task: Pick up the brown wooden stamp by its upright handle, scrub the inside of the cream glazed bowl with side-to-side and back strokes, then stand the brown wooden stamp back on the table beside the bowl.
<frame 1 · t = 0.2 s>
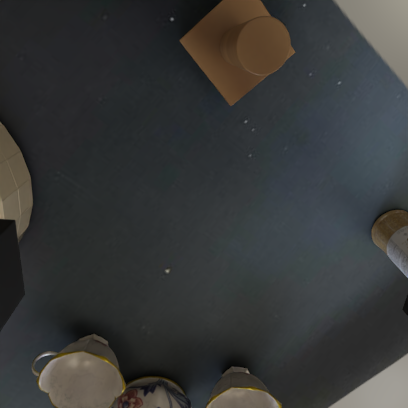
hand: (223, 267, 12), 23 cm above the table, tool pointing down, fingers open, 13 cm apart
sprinkles bottle: (390, 227, 38), on the table
brown wooden stamp: (231, 46, 31), on the table
chinaware: (159, 381, 46), on the table
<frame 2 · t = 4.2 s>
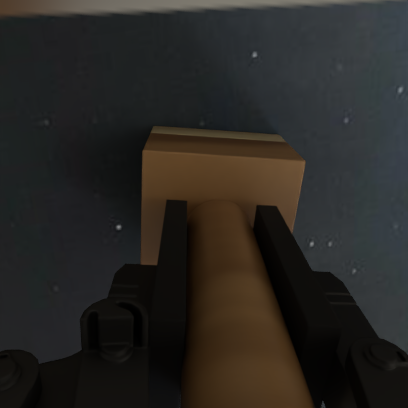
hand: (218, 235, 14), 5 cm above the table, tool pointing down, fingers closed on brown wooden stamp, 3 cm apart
brown wooden stamp: (211, 189, 19), on the table, touching gripper
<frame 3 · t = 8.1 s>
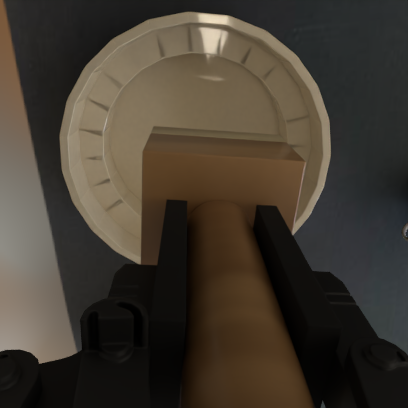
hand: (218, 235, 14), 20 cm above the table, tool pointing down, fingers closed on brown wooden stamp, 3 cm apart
brown wooden stamp: (211, 189, 19), point 15 cm above the table, touching gripper
bowl: (195, 141, 33), on the table
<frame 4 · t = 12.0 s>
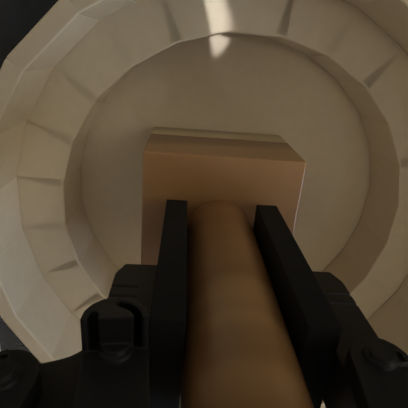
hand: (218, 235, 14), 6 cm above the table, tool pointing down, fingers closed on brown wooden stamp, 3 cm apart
brown wooden stamp: (212, 190, 19), point 1 cm above the table, touching gripper
bowl: (225, 186, 20), on the table
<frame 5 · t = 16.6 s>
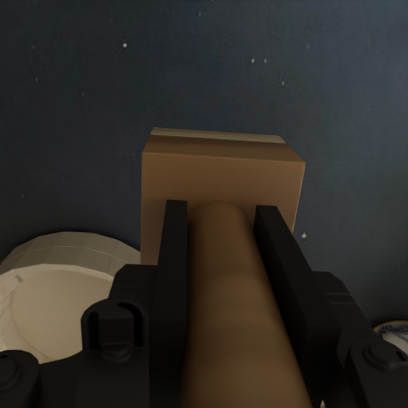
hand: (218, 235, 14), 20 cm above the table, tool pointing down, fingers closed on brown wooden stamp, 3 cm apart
brown wooden stamp: (211, 190, 19), point 15 cm above the table, touching gripper
bowl: (85, 309, 40), on the table
chinaware: (383, 329, 42), on the table
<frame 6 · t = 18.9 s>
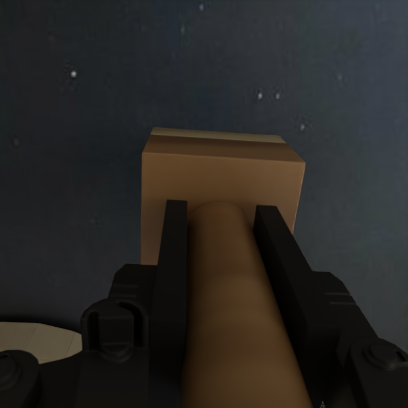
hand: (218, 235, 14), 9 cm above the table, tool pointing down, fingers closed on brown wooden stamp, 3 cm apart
brown wooden stamp: (211, 190, 19), point 4 cm above the table, touching gripper
when the fingers open (5 cm above the table, at t = 20.1 s): brown wooden stamp stays where it is, on the table.
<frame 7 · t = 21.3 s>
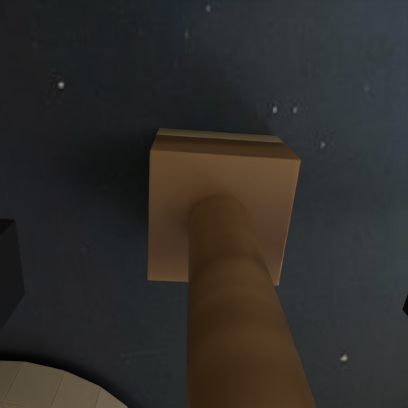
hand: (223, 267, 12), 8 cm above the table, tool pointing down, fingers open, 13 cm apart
brown wooden stamp: (213, 187, 20), on the table
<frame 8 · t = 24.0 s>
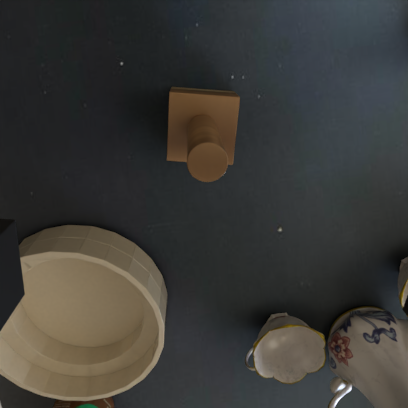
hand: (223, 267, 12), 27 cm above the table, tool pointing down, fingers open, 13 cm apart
food container: (99, 399, 51), on the table
brown wooden stamp: (200, 120, 37), on the table
bowl: (86, 294, 44), on the table
chinaware: (353, 314, 47), on the table
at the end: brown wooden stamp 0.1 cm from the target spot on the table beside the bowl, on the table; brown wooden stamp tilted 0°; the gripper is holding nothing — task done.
